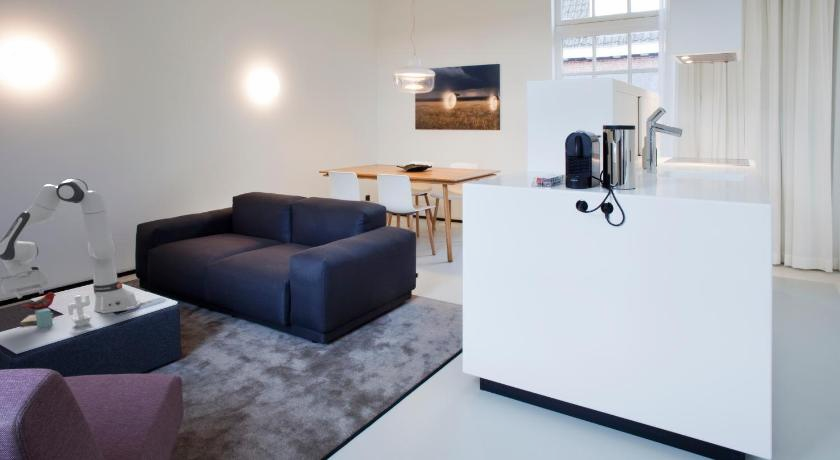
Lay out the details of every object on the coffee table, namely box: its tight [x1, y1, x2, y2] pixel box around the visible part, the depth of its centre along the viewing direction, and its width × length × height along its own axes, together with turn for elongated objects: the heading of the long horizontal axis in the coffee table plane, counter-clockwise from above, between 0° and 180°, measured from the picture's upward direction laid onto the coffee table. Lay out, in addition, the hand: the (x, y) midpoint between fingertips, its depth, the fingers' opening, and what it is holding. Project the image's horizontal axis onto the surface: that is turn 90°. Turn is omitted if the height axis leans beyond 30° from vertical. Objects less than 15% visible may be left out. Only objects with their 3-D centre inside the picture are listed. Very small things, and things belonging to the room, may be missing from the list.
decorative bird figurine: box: [18, 291, 56, 311], centre depth 300 cm, size 3×18×10 cm, turn 135°
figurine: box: [67, 294, 92, 328], centre depth 279 cm, size 7×9×15 cm
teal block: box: [34, 307, 54, 329], centre depth 280 cm, size 5×5×8 cm
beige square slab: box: [20, 312, 55, 327], centre depth 287 cm, size 11×11×2 cm
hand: (31, 295), depth 285 cm, fingers open, 8 cm apart
